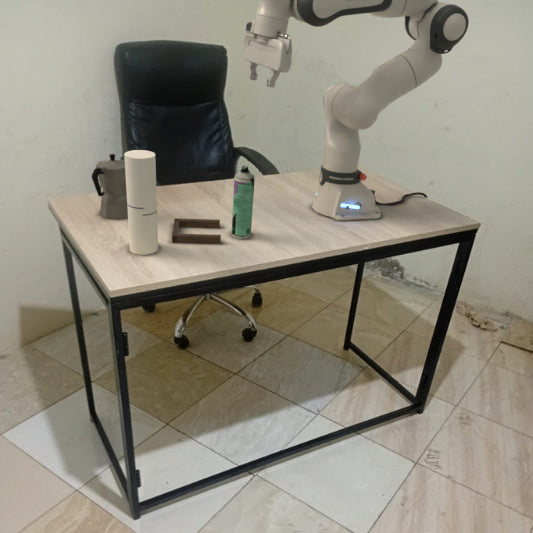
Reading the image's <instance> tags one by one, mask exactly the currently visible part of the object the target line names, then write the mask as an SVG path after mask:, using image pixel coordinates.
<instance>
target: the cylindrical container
mask: <svg viewBox="0 0 533 533" xmlns="http://www.w3.org/2000/svg"><path fill="white" fill-rule="evenodd" d="M123 155H124V157H123V158H124V160H125V174H126V191H127V208H128V217H127V223H128V224H127V225H128V242H129V251H130V252H131V253H133V254H135V255H140V256H141V255H142V256H145V255H146V256H147V255H152V254H154V253H156V252H157V251H158V250H159V237H158V236H159V234H158V200H157V168H156V166H157V165H156V163H157V162H156V153H155V152H153V151H150V150H145V149H134V150H128V151H126V152H124V154H123Z"/></svg>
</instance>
